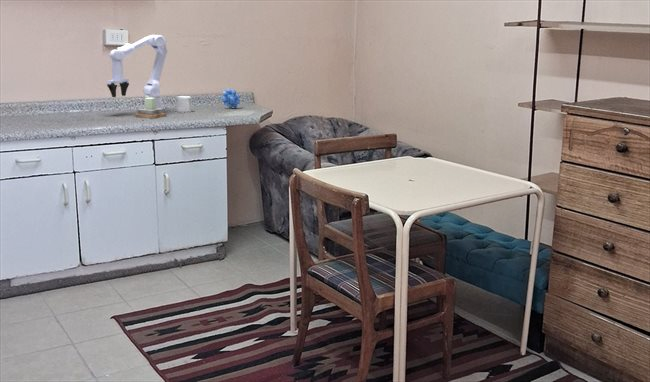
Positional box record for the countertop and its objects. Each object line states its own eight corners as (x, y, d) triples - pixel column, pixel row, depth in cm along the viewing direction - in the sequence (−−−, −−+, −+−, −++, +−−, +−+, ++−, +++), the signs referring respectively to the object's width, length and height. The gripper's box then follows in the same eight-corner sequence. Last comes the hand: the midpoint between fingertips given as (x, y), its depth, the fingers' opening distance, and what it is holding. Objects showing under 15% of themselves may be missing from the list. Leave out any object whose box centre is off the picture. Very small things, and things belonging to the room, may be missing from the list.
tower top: (150, 111, 407) (149, 107, 407) (164, 113, 403) (163, 108, 402) (138, 114, 399) (137, 109, 398) (152, 115, 394) (152, 110, 394)
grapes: (223, 109, 434) (223, 89, 431) (220, 108, 440) (220, 88, 437) (242, 108, 438) (242, 89, 435) (238, 107, 444) (238, 87, 441)
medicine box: (192, 111, 426) (191, 96, 424) (189, 112, 422) (189, 97, 420) (178, 110, 427) (178, 96, 425) (176, 111, 423) (176, 96, 421)
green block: (149, 108, 403) (148, 97, 402) (156, 108, 402) (155, 97, 400) (144, 109, 399) (144, 98, 397) (152, 109, 398) (151, 98, 396)
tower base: (150, 115, 409) (149, 111, 408) (166, 117, 404) (166, 113, 403) (135, 118, 399) (135, 114, 398) (152, 120, 393) (152, 115, 393)
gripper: (121, 70, 408) (122, 94, 412) (102, 72, 396) (104, 97, 399) (130, 71, 405) (132, 95, 408) (112, 72, 393) (113, 98, 396)
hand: (118, 96), depth 404 cm, fingers open, 7 cm apart
